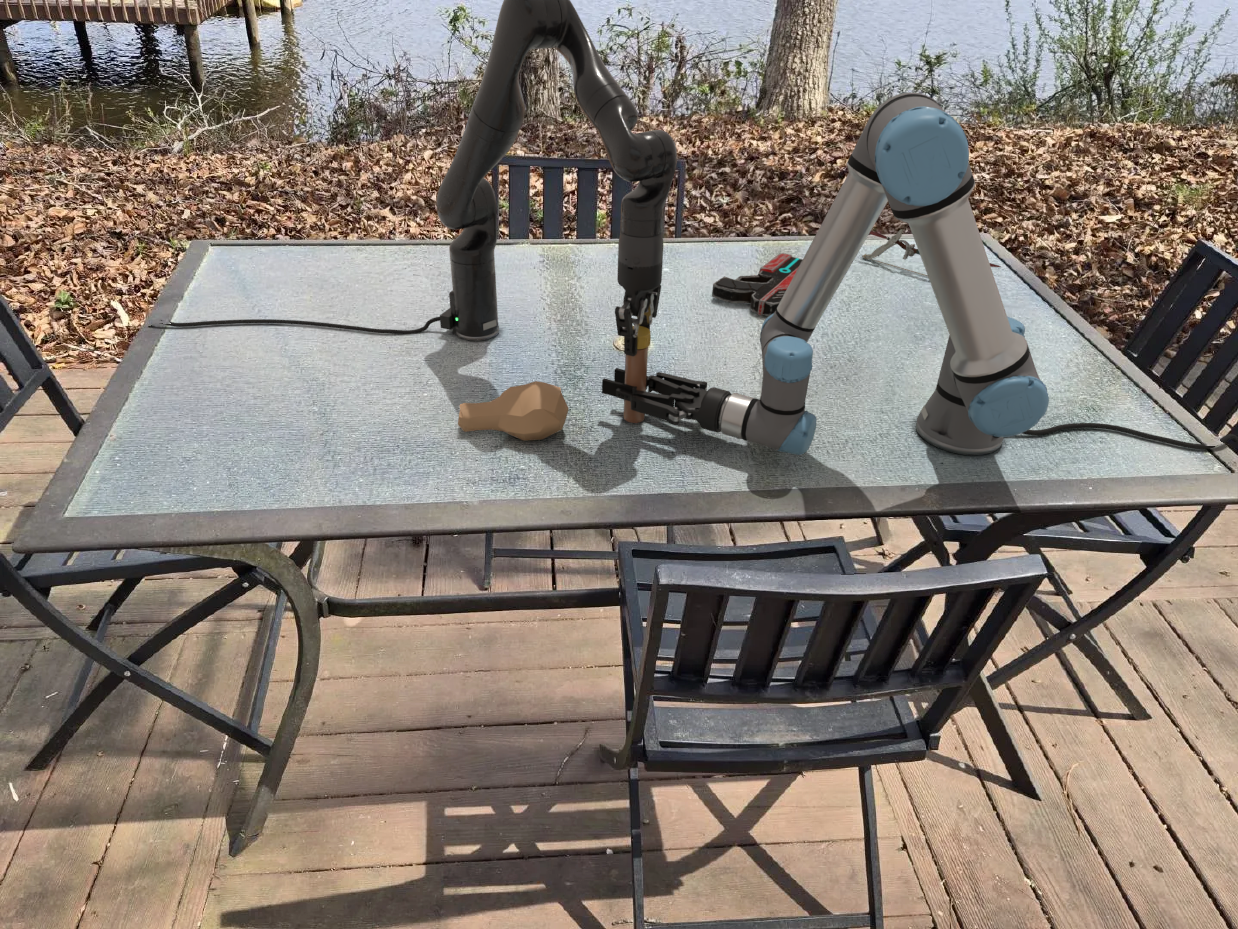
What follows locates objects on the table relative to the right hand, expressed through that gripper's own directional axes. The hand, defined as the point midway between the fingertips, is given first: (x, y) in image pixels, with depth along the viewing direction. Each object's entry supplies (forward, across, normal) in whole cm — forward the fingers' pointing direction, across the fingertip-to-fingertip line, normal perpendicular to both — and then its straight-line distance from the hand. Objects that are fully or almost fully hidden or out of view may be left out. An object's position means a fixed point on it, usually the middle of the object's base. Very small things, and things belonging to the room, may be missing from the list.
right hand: (609, 380), depth 162 cm
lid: (-5, 0, +11) cm, 12 cm away
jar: (-5, 0, -6) cm, 8 cm away
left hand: (-5, 0, +8) cm, 10 cm away
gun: (-6, +71, -6) cm, 72 cm away
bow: (-36, +102, -6) cm, 109 cm away
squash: (+11, -16, -6) cm, 20 cm away
